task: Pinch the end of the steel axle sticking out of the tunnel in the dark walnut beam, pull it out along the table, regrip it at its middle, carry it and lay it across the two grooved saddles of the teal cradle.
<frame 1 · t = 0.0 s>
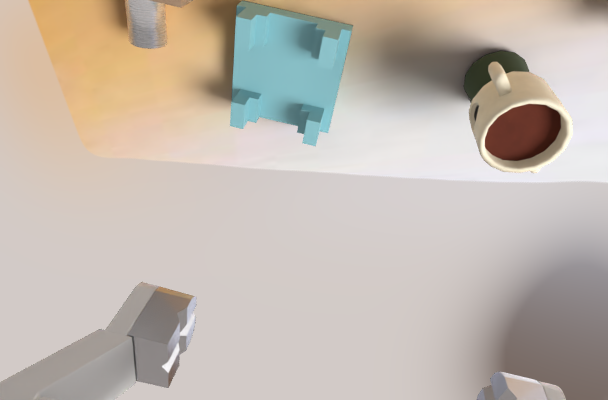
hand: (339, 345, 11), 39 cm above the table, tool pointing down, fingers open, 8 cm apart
teal cradle: (289, 67, 47), on the table
character mug: (494, 77, 44), on the table
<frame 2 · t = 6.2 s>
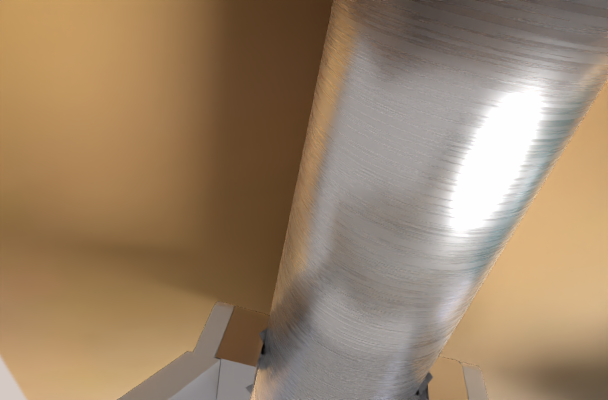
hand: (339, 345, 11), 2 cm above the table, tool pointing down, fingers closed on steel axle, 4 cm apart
steel axle: (401, 193, 8), point 2 cm above the table, touching gripper
when the fingers open (2 cm above the table, at t = 7.8 s): steel axle stays where it is, point 2 cm above the table.
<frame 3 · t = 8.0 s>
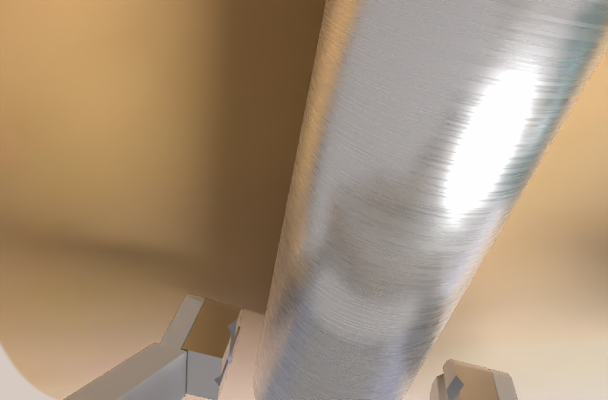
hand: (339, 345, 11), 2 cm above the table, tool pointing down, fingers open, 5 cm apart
steel axle: (397, 179, 8), point 2 cm above the table
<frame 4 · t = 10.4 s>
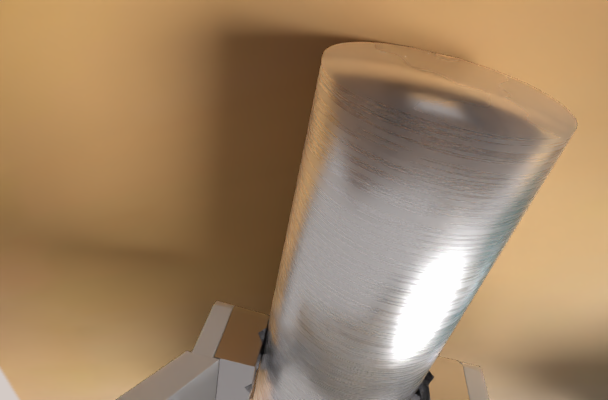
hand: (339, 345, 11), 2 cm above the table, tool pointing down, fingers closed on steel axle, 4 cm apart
steel axle: (342, 345, 10), point 2 cm above the table, touching gripper
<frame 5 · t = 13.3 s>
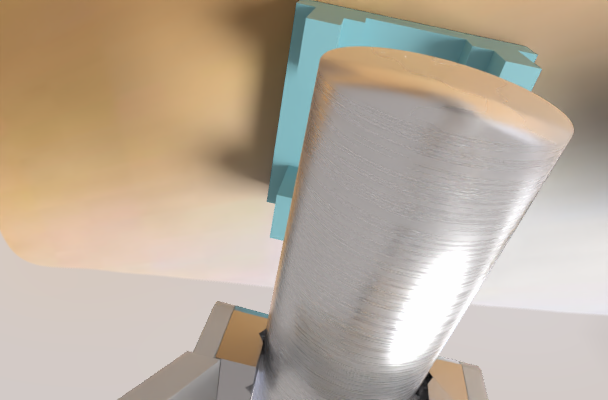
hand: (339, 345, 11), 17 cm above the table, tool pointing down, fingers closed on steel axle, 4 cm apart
steel axle: (341, 349, 10), point 17 cm above the table, touching gripper
teal cradle: (381, 126, 25), on the table
when the fingers open (5 cm above the table, at t = 16.2 s): steel axle stays where it is, resting on teal cradle.
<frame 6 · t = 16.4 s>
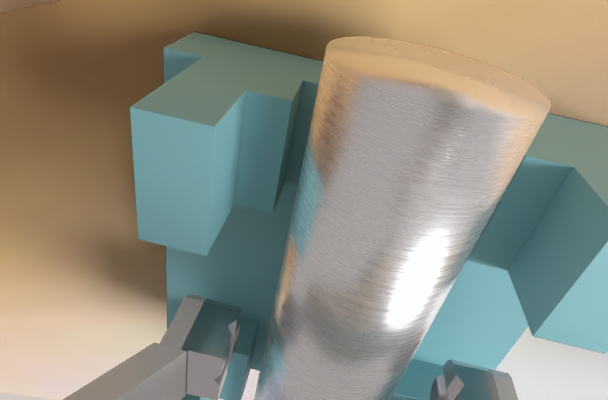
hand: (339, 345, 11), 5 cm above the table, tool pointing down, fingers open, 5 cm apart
steel axle: (344, 320, 11), point 4 cm above the table, touching teal cradle
teal cradle: (349, 240, 15), on the table
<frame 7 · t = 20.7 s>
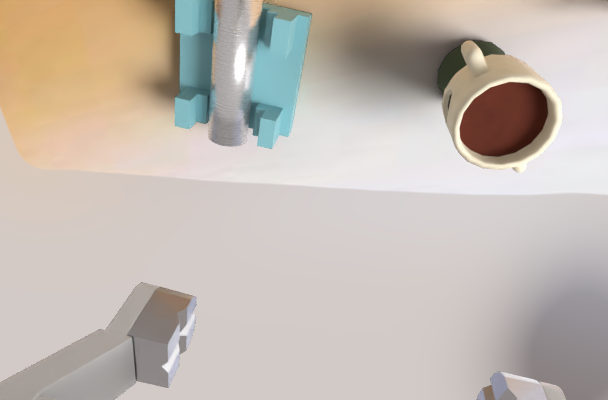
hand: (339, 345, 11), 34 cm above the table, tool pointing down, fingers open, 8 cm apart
steel axle: (233, 70, 38), point 4 cm above the table, touching teal cradle
teal cradle: (244, 63, 42), on the table
character mug: (470, 72, 39), on the table
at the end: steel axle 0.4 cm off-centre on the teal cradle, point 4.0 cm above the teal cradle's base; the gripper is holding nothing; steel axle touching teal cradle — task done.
